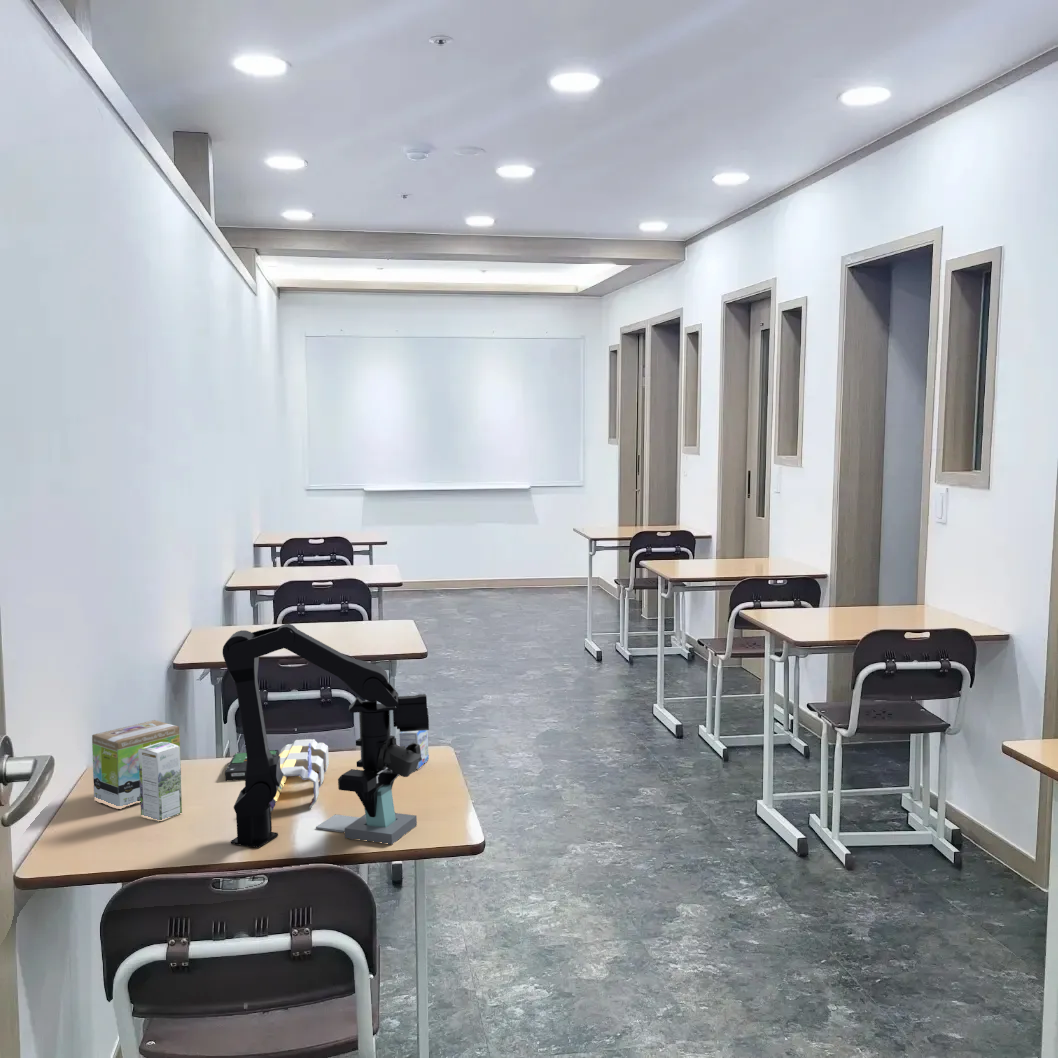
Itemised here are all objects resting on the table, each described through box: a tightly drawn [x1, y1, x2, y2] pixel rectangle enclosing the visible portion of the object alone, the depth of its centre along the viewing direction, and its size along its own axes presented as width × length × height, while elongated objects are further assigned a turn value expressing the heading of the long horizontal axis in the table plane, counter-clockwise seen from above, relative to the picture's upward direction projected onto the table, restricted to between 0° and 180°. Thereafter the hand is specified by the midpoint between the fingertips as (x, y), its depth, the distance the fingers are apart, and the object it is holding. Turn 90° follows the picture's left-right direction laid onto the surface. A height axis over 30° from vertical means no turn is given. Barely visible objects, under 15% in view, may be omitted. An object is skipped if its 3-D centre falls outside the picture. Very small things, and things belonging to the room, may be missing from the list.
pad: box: [315, 814, 361, 833], centre depth 200 cm, size 7×7×1 cm
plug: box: [363, 785, 396, 828], centre depth 196 cm, size 4×4×8 cm
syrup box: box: [138, 742, 183, 820], centre depth 206 cm, size 6×6×14 cm
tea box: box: [91, 719, 182, 806], centre depth 219 cm, size 15×10×15 cm, turn 143°
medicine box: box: [398, 730, 430, 770], centre depth 236 cm, size 8×4×9 cm, turn 168°
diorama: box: [270, 738, 330, 812], centre depth 221 cm, size 25×10×13 cm, turn 5°
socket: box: [344, 812, 418, 845], centre depth 196 cm, size 10×10×2 cm
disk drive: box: [224, 749, 280, 782], centre depth 236 cm, size 10×3×15 cm
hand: (378, 812), depth 196 cm, fingers closed on plug, 4 cm apart
